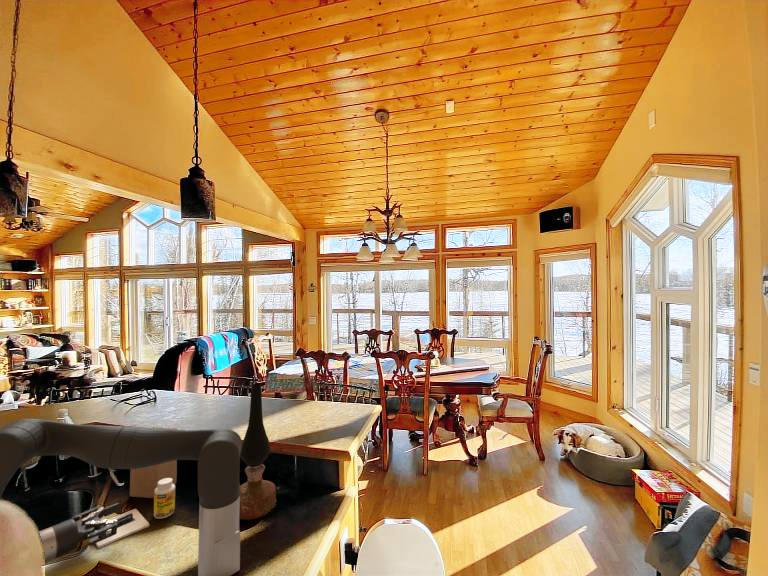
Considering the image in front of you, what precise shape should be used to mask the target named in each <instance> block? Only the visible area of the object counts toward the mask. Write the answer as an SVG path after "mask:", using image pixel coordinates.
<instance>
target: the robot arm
mask: <svg viewBox="0 0 768 576" xmlns="http://www.w3.org/2000/svg"><path fill="white" fill-rule="evenodd" d="M164 428H165V427H160V428H152V427H147V426H132V425H131V426H130V425H101V424H76V423H70V422H69V423H67V422H62V421H56V420H55V421H54V420H48V419H47V420H46V419H40V418H22V419H16V420H15V421H14V420H13V421H12V422H10V423H7V424H6V425H4V426H2V427H0V501H2V500H1V499H2V496H3V493H4V491H5V489H6V487H7V485H8V484H9V483H10V481H11V479H12V478H13V477H14V475H15V474H16V472H17V471H18V470H19V468H20V467H23V466H24V465H25V464H27V463H28V462H29V461H31V460H32V459H34V458H35V457H42V456H68V457H73V458H76V459H78V460H79V459H80V460H81V461H83V462H85V463H88V464H89V465H92V466H94V467H97V468H101V469H109V470H112V469H113V470H130V469H138V468H144V467H149V466H154V465H158V464H162V463H166V462H170V461H175V460H177V461H184V460H185V461H186V460H187V461H197V494H198V497H199V503H198V504H199V506H198V507H199V509H198V546H197V547H198V549H197V550H198V551H197V552H198V553H197V554H198V555H197V556H198V557H197V559H198V561H197V563H198V564H197V567H198V568H197V570H198V571H197V573H198V574H197V576H232V575H234V574H236V573H237V572H239V571H240V569H241V530H240V519H239V514H240V486H241V483H240V462H241V460H240V459H241V457H240V453H241V448H242V442H243V440H242V438H241V436H240V434H238V433H237V431H235V430H233V429H230V428H210V429H191V430H190V429H178V428H177V429H178V430H177V429H164ZM120 510H121V503H120V502H117V503H115V504H112V505H109V506H107V507H100V508H99V506H95V507H92V508H91V509H87V510H85V511H83V512H81V513H78V514H77V515H74V516H72V517H71V518H70V519H67V520H64V521H62V522H59V523H57V524H55V525H52V526H50V527H48V528H45V529H42V530H40V531H38V532H39V533H40V536H41V539H42V543H43V547H44V552H45V564H47V563H50V562H52V561H54V560H56V559H58V558H61V557H63V556H65V555H67V554H69V553H71V552H73V551H75V550H76V549H78V546H79V544H80V543H81V542H85V541H87V545H88V547H89V546H92V545H96V544H95V543H97V542H100V541H102V540H104V539H106V538H109V537H111V536H113V535H115V534H117V528H118V527H121V526H123V525H125V524H127V523H129V522H131V521H132V520H133V514H132V513H129V514H126V515H124V516H122V517H120V518H117V519H116V520H110V521H108V519H103V518H106V517H108V516H111V515H113V514H115V513H118V512H120ZM107 525H109V526H107ZM107 532H110V533H108V534H106V533H107Z"/></svg>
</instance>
